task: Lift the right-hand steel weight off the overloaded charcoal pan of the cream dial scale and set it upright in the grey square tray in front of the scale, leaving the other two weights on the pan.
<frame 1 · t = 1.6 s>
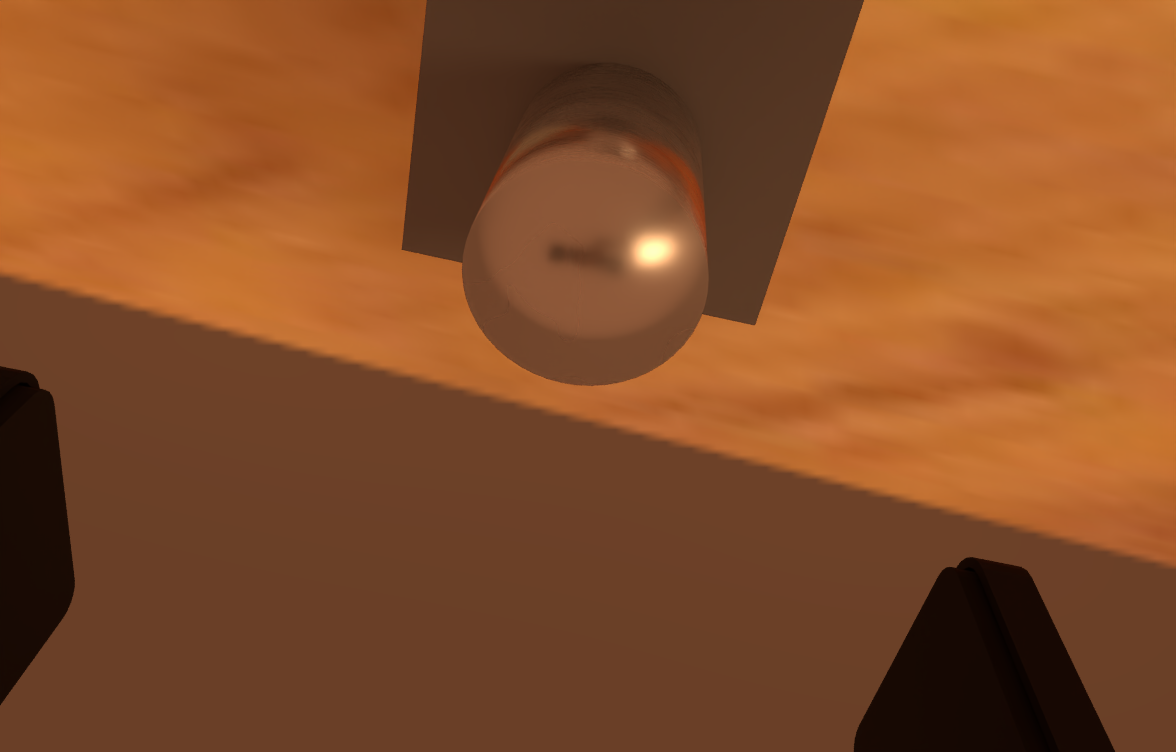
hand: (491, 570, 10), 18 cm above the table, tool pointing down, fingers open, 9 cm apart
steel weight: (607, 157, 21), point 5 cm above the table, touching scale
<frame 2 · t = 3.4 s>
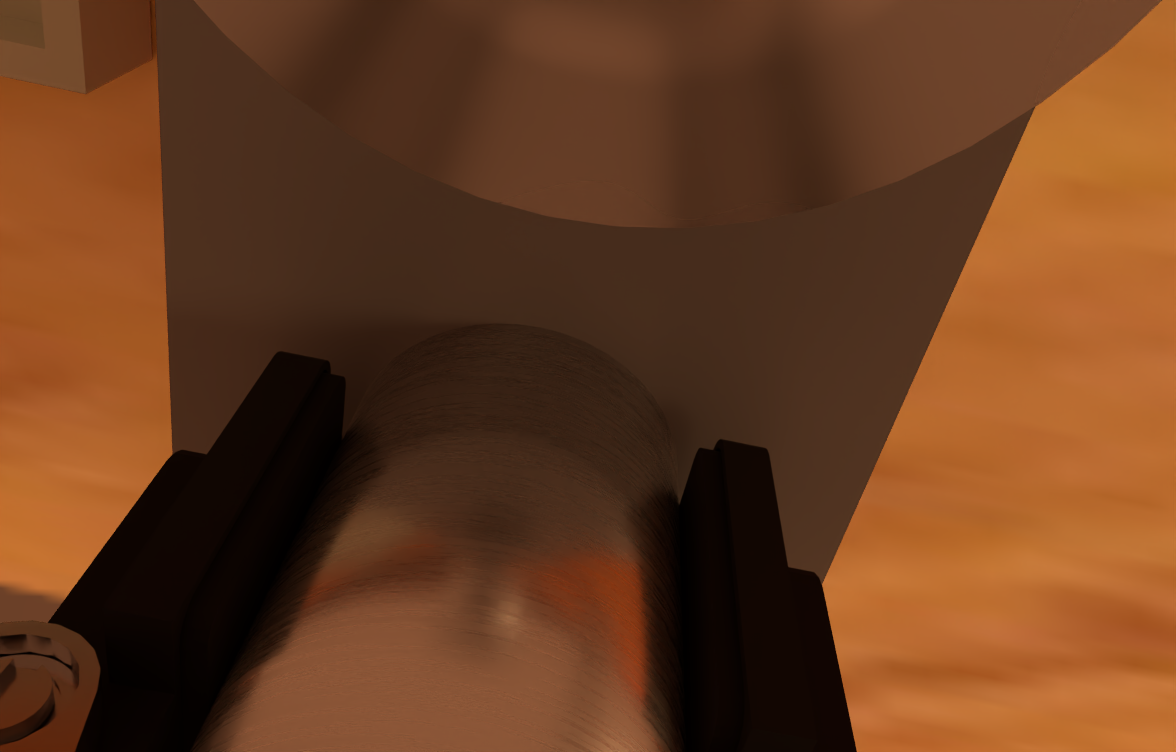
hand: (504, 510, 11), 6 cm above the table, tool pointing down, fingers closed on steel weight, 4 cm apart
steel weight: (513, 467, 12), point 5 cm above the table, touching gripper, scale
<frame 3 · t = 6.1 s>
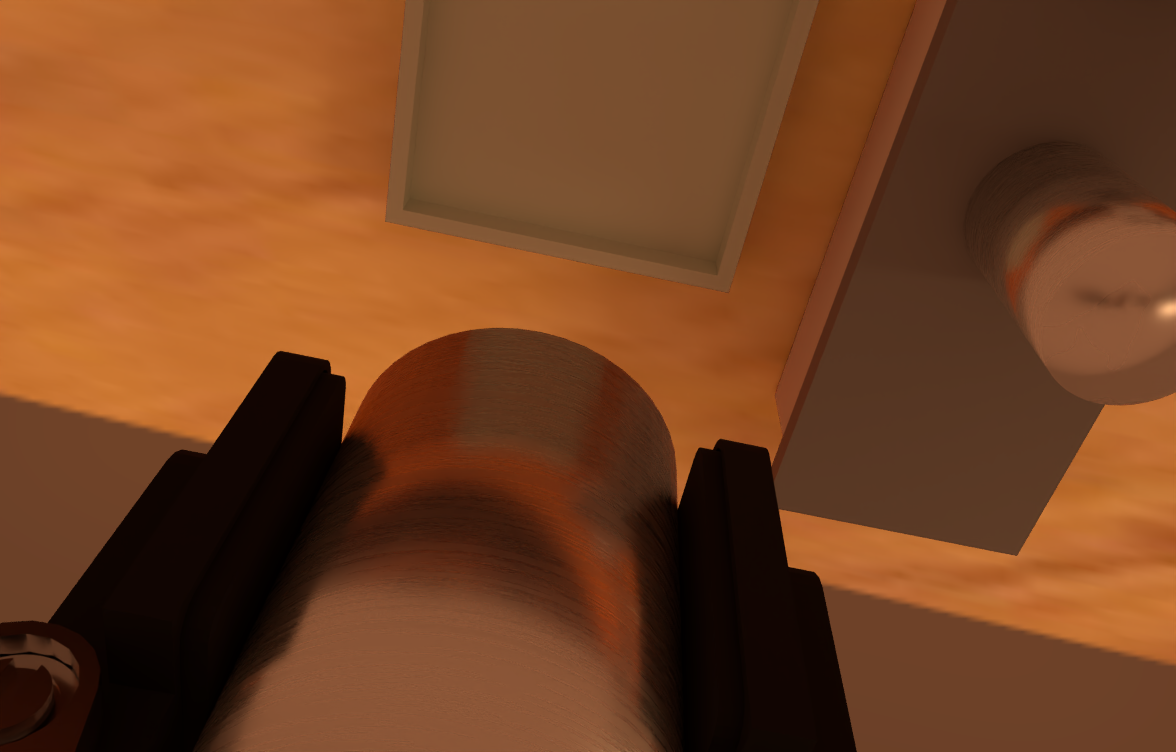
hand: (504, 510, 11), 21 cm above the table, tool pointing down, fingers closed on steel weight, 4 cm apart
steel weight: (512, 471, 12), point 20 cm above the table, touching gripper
scale: (983, 151, 30), on the table
grey square tray: (596, 67, 29), on the table
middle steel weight: (1042, 216, 25), point 5 cm above the table, touching scale
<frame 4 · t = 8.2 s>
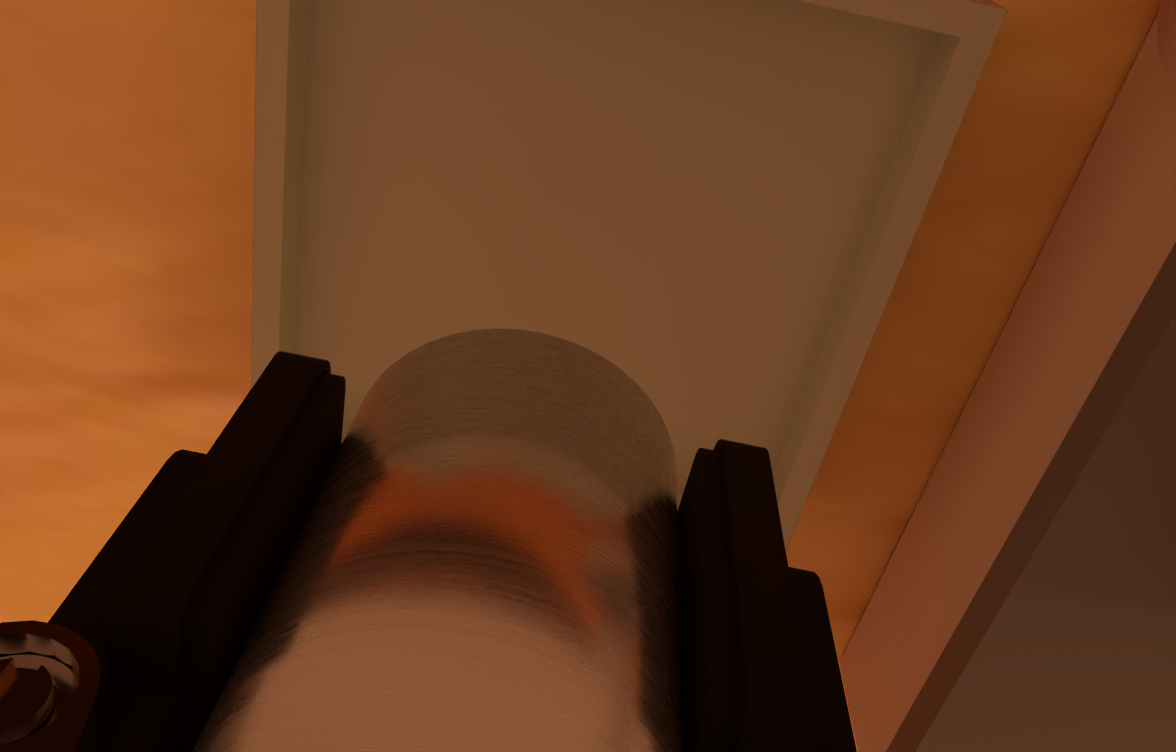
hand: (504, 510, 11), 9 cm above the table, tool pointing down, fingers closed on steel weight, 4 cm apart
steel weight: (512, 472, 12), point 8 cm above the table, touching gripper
grey square tray: (578, 223, 18), on the table
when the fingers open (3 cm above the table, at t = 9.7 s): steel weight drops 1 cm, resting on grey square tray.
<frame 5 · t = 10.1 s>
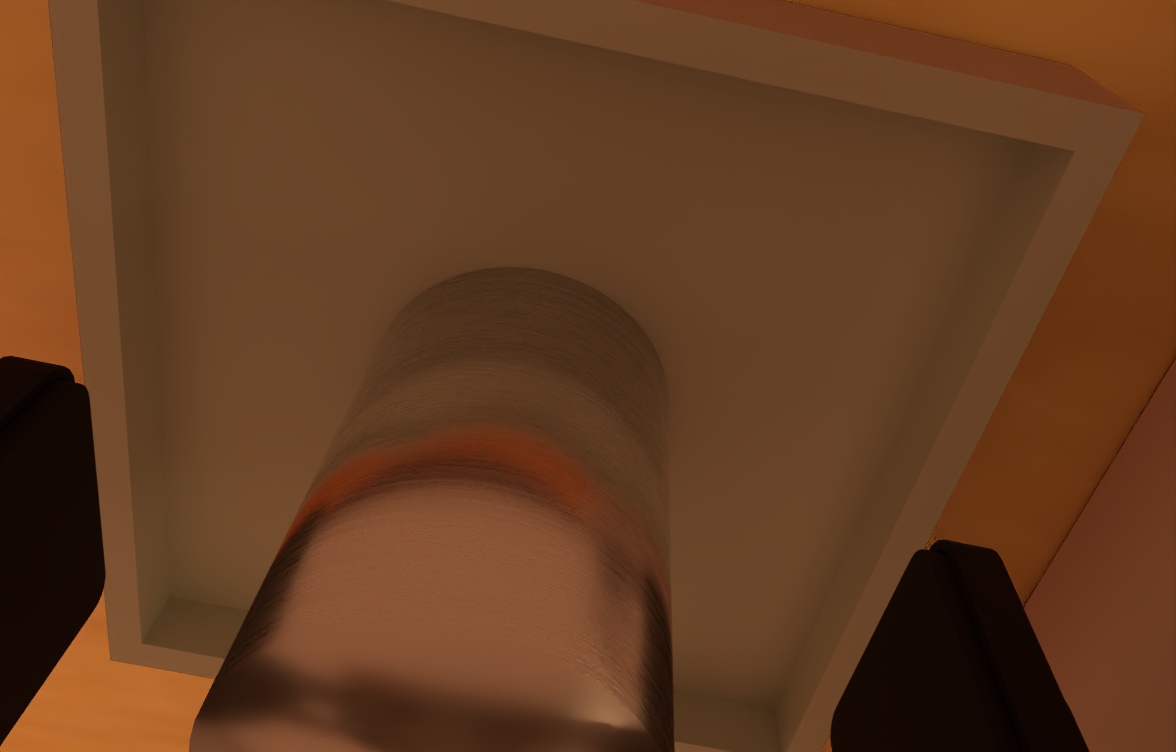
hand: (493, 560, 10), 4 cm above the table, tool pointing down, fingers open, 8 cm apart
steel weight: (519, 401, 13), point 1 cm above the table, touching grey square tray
grey square tray: (535, 364, 14), on the table
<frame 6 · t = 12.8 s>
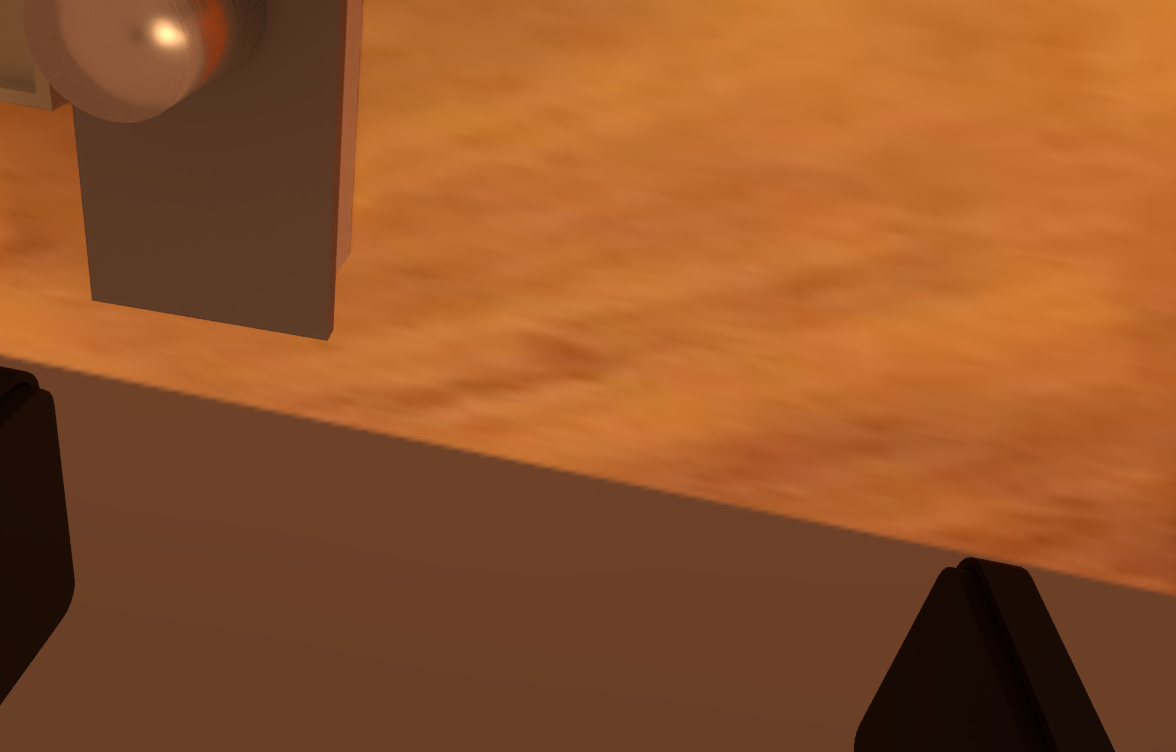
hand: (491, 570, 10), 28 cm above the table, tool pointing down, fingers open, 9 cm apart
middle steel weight: (200, 1, 29), point 5 cm above the table, touching scale
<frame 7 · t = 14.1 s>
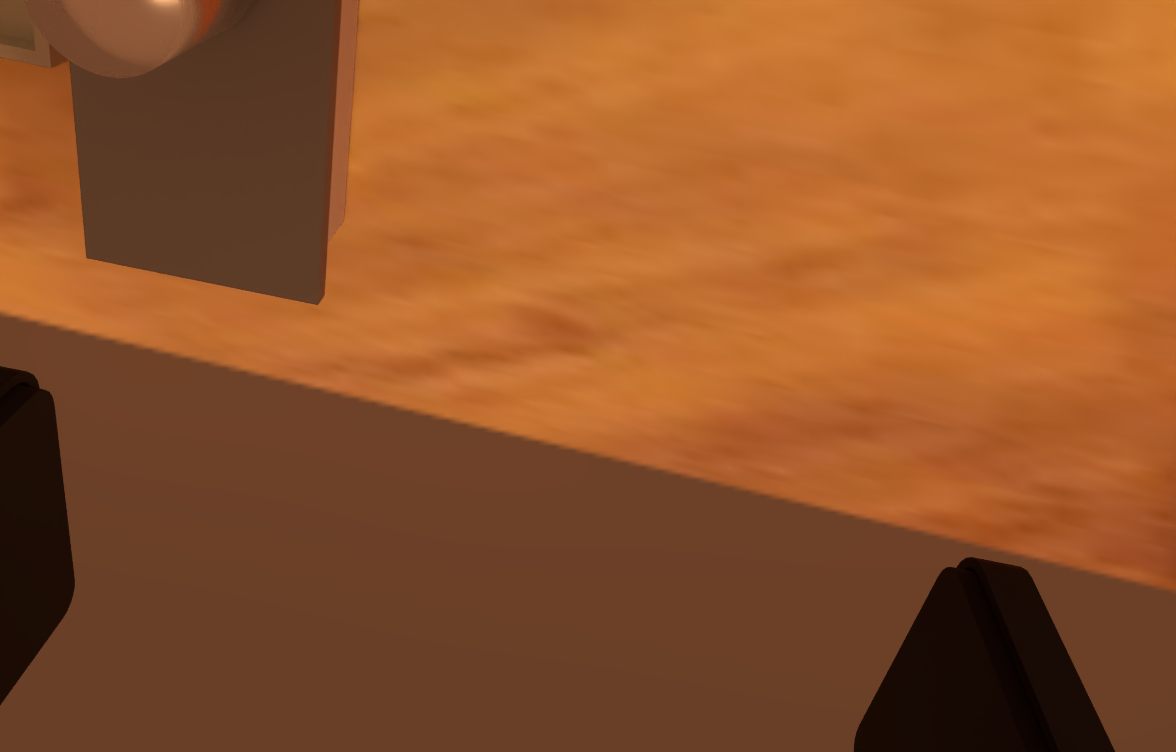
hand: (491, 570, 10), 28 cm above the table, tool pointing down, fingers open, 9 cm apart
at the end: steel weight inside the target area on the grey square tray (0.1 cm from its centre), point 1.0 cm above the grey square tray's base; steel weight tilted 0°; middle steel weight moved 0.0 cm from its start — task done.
